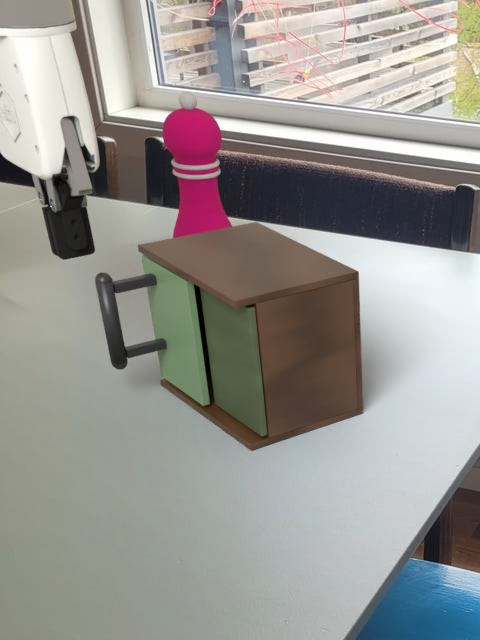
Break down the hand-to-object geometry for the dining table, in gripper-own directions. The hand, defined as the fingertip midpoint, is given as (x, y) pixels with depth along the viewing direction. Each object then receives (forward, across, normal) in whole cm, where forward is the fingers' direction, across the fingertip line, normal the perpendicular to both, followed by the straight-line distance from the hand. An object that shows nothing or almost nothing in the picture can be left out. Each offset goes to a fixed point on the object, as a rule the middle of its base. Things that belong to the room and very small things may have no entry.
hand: (74, 253), depth 86 cm
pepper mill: (+12, -16, +21) cm, 29 cm away
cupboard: (+12, +12, +11) cm, 20 cm away
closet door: (+11, +8, +2) cm, 14 cm away
